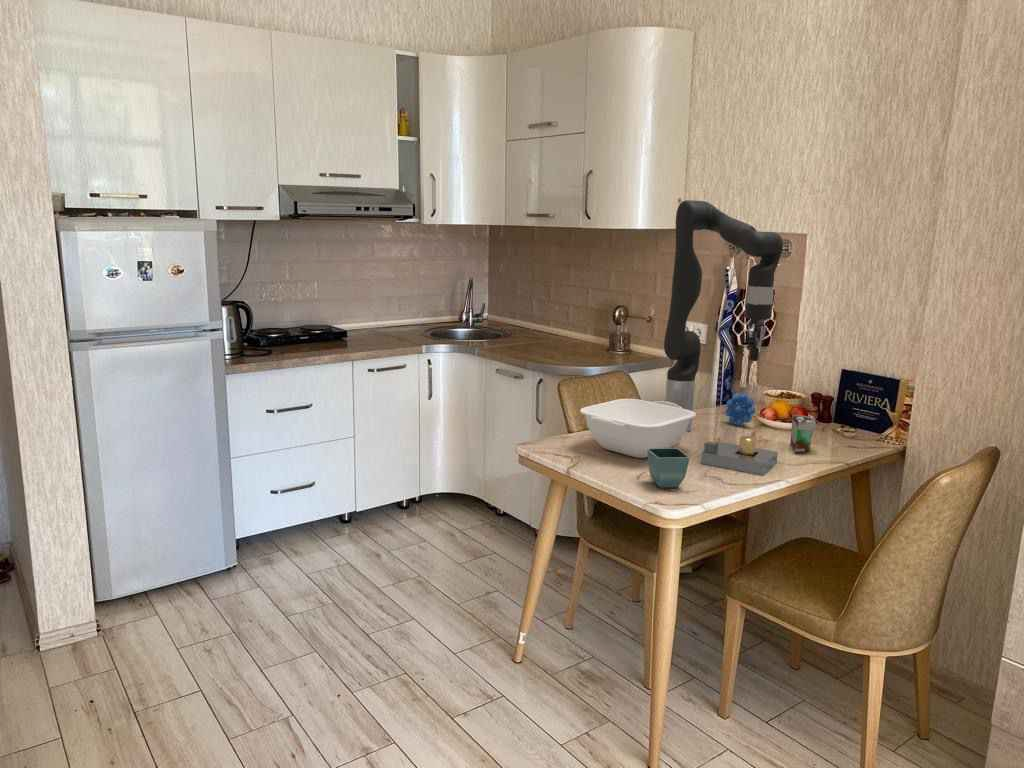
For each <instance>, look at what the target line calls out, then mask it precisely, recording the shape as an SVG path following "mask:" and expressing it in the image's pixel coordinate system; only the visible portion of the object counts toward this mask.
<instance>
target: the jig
mask: <svg viewBox="0 0 1024 768" xmlns="http://www.w3.org/2000/svg"><path fill="white" fill-rule="evenodd" d="M703 445H704V448H703V451H701V457H700V464H701V465H706V466H712V467H718V468H722V469H727V470H731V471H732V470H733V471H737V472H743V473H748V474H754V475H758V476H765V475H766V474H767V473H768V472H770V470H771V469H772V468H773V467H775V465H777V463H778V454H779V452H778V451H775V450H770V449H764V448H758V447H755V457H750V456H745V455H739V446H740V444H735V443H730V442H723V441H718V440H717V441H715V442H714V441H710V440H708V441H706V442H705V443H704V444H703Z"/></svg>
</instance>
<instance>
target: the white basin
mask: <svg viewBox="0 0 1024 768" xmlns="http://www.w3.org/2000/svg"><path fill="white" fill-rule="evenodd" d="M579 413H581V414H582V415H584V417H585V421H586V425H587V427H588V430H589V432H590V433H591V436H592V437H593V438H594V440H595V441H596V442H597V443H598V444H599V445H600V446H601V447H602V448H603V449H606V450H607V451H612V452H615V453H619V454H623V455H626V456H630V457H633V458H637V459H645V458H648V451H647V449H651V448H673V447H674V446H676V445H677V443H679V441H680V440H681V439H682V438H683V436H684V435H685V433H686V432H685V431H686V429H687V426H688V424H689V421H690V419H691V418H692V419H693V418H696V416H697V415H696V412H695V411H694V410H693V411H690V410H687V409H682V407H680V406H678V405H677V404H674V403H671V402H666V401H664V400H660V401H658V400H657V401H648V400H643V399H637V398H620V399H613V400H610V401H606V402H601V403H597V404H593V405H589V406H584V407H582V408H580V410H579Z"/></svg>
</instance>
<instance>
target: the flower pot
mask: <svg viewBox="0 0 1024 768" xmlns="http://www.w3.org/2000/svg"><path fill="white" fill-rule="evenodd" d="M647 451H648V457H647V465H648V470H649V473H650V478H651V479H652V480H653V482H654V483H655V484H656V485H657V486H658V488H663V489H664V488H678V487H679V486H680V485H681V484H682V483H683V481H684V479H685V478H686V475H687V473H688V472H687V471H688V467H689V463H690V462H689V461H690V456H689V455H688V454H686V453H685V452H683V450H681V449H680V448H677V447H674V448H673V447H671V448H651V449H647Z"/></svg>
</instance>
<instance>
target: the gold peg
mask: <svg viewBox="0 0 1024 768" xmlns="http://www.w3.org/2000/svg"><path fill="white" fill-rule="evenodd" d="M756 444H757V438H756V437H754V436H749V435H744V436H740V438H739V445H740V446H739V455H745V456H750V457H755V448H756V446H757V445H756Z"/></svg>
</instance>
